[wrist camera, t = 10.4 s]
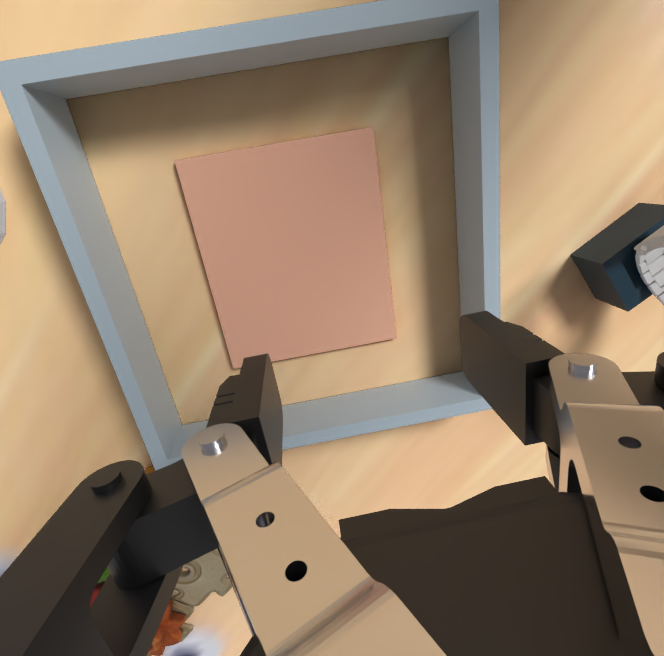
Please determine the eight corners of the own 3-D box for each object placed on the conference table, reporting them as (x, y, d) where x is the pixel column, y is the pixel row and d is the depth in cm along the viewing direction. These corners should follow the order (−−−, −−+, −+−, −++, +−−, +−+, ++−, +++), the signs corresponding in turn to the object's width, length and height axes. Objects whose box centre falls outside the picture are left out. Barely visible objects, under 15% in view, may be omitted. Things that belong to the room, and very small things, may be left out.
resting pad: (176, 160, 24) (174, 160, 24) (372, 127, 24) (373, 126, 24) (234, 366, 29) (233, 368, 29) (395, 336, 30) (396, 338, 29)
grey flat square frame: (40, 81, 22) (-11, 63, 18) (464, 13, 23) (498, -19, 19) (172, 438, 31) (156, 474, 27) (476, 379, 32) (500, 407, 28)
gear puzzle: (146, 398, 30) (126, 430, 26) (315, 492, 35) (318, 531, 31) (-32, 638, 37) (-68, 691, 33) (130, 689, 42) (114, 740, 38)
